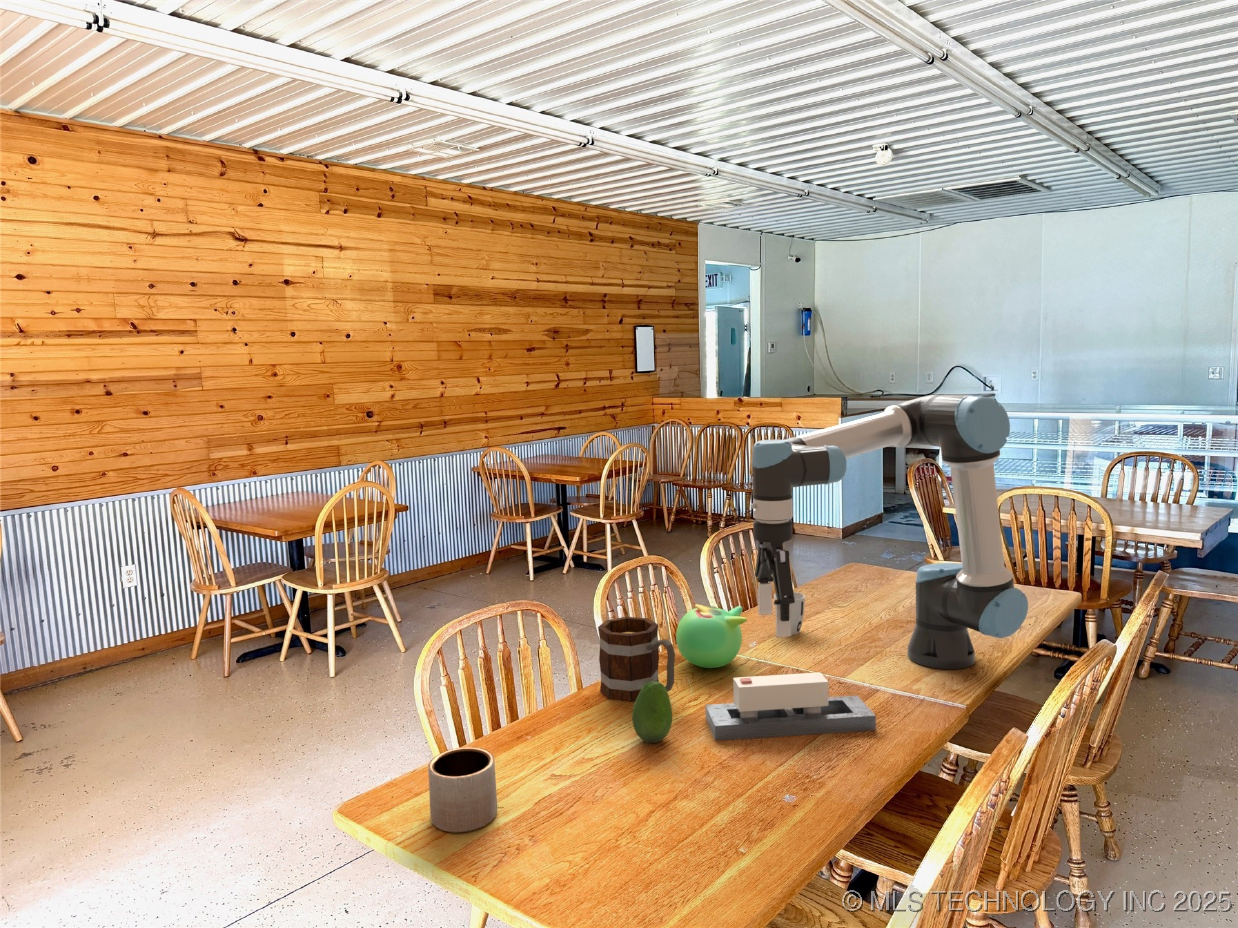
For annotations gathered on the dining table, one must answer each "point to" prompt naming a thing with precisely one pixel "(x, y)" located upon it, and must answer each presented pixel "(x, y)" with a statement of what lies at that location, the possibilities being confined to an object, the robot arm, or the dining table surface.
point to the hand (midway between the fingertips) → (774, 624)
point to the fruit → (652, 712)
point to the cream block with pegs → (780, 693)
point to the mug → (631, 657)
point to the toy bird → (710, 635)
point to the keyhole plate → (791, 720)
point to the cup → (796, 612)
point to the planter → (462, 789)
